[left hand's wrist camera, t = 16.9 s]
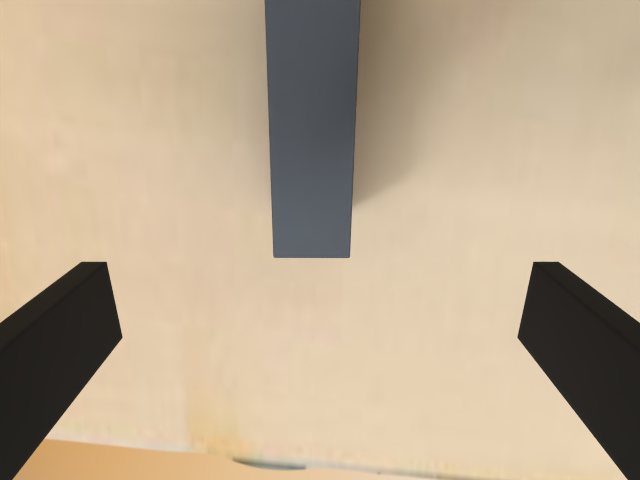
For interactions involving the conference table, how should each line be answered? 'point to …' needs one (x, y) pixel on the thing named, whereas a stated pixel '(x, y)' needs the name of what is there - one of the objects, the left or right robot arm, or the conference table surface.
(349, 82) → the bar
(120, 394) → the conference table surface
